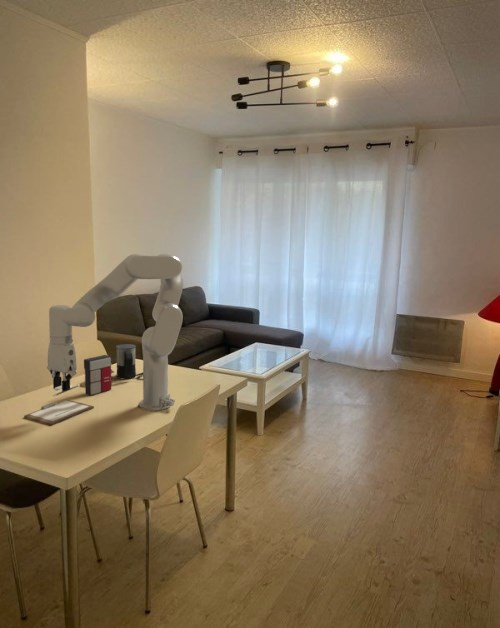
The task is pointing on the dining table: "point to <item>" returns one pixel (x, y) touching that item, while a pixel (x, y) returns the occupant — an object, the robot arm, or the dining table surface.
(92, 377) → the grey and red box
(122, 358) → the milk frother
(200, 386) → the dining table surface
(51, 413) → the clipboard
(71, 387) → the picture light
